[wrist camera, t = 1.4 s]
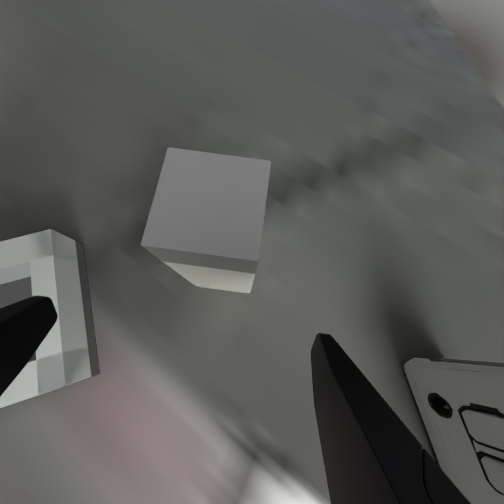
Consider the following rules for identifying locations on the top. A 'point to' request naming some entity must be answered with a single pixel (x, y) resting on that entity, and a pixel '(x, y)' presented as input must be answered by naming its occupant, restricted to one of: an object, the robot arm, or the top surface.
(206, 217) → the grey tall block
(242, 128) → the top surface
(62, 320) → the white rectangular frame
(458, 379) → the electrical switch
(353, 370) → the robot arm
